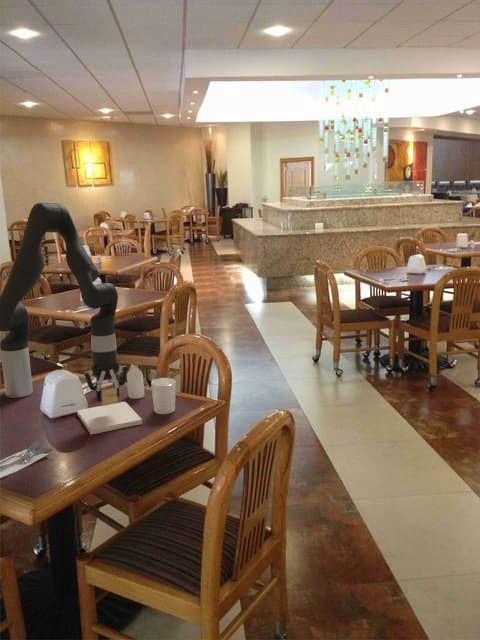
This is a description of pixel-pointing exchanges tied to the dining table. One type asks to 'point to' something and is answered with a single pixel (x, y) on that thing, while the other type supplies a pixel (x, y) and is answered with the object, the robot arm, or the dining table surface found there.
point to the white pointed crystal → (135, 383)
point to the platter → (108, 417)
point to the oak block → (108, 394)
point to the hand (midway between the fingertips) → (107, 399)
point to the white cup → (163, 395)
